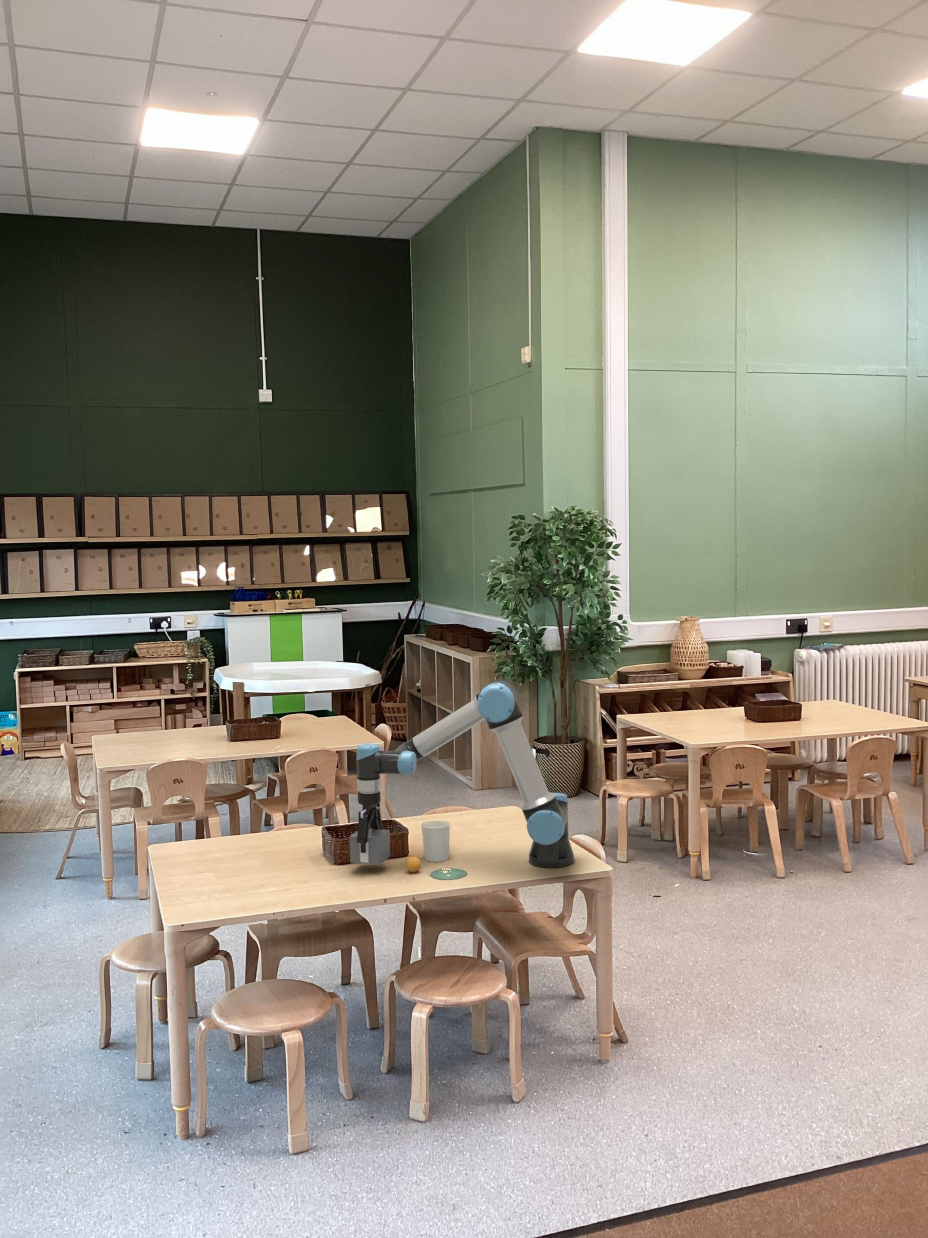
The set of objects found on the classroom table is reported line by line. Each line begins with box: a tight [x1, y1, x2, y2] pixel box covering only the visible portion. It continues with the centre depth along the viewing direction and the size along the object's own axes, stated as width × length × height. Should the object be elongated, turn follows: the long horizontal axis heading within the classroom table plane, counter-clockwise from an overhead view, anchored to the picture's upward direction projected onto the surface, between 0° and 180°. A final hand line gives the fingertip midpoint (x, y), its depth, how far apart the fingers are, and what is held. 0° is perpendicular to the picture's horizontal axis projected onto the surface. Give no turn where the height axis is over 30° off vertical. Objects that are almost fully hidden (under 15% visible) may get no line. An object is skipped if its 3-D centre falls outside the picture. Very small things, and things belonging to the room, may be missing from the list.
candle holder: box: [421, 820, 451, 863], centre depth 367 cm, size 10×10×12 cm
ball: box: [405, 856, 422, 873], centre depth 353 cm, size 5×5×5 cm
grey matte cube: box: [349, 828, 391, 866], centre depth 357 cm, size 10×10×9 cm
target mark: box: [429, 867, 468, 881], centre depth 350 cm, size 12×12×1 cm
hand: (370, 857), depth 357 cm, fingers closed on grey matte cube, 10 cm apart
